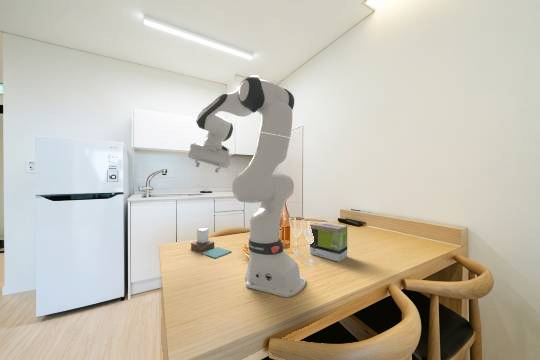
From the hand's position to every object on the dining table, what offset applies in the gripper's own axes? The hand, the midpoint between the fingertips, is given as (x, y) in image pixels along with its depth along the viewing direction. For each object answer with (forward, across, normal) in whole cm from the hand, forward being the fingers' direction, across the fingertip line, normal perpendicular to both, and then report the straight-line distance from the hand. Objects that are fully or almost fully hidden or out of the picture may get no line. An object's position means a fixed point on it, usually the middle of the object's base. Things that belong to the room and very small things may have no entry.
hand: (207, 169), depth 99 cm
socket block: (+30, +9, +28) cm, 42 cm away
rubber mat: (+34, +15, +19) cm, 41 cm away
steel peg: (+30, +9, +28) cm, 42 cm away
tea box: (+34, +63, -6) cm, 72 cm away
